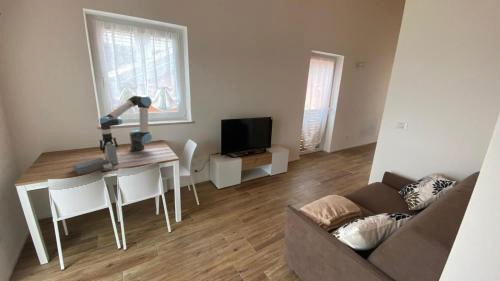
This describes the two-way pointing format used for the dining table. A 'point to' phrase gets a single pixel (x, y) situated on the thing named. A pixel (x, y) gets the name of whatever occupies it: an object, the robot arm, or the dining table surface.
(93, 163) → the stand
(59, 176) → the dining table surface
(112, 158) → the hard drive box
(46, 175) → the dining table surface
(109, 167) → the metal tin
